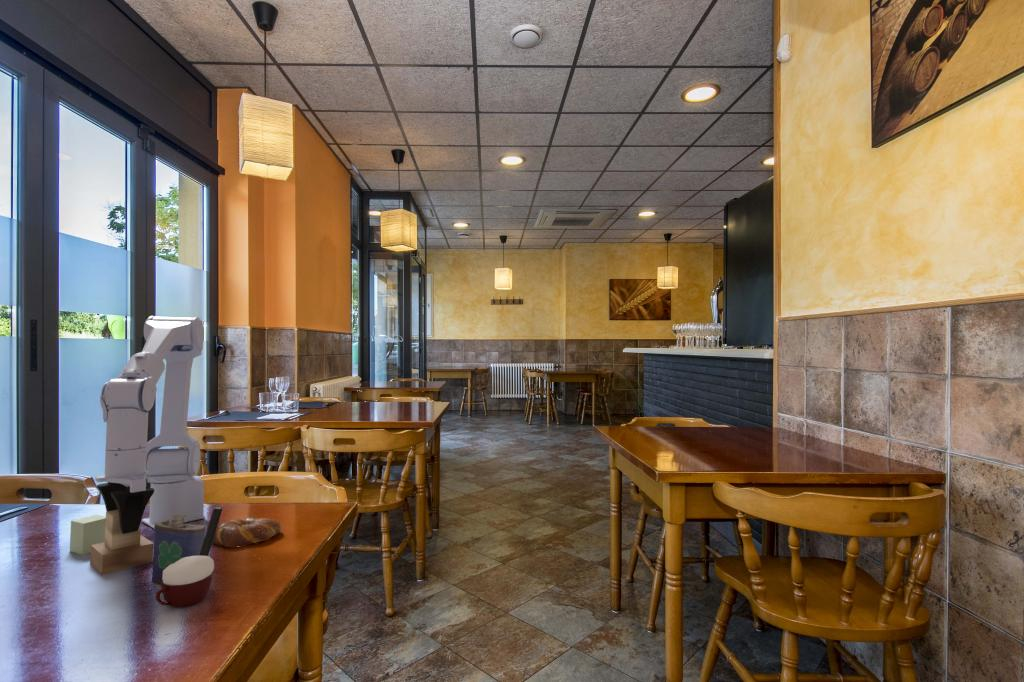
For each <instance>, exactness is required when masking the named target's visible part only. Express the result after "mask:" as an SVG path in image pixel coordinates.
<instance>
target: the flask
mask: <svg viewBox="0 0 1024 682" xmlns="http://www.w3.org/2000/svg"><path fill="white" fill-rule="evenodd" d="M171 517H172V518H175V520H171V519H168V520H165V521H162V522H157V523H156V524H155V529H154V539H153V562H152V570H151V572H152V574H151V583H152V584H155V585H158V586H161V581H162V576H163V570H164V569H165V568H167V567H168V566H169V565H171V564H173V563H175V562H177V561H178V560H180V559H182V558H184V557H189V556H199V555H200V551H201V548H202V545H203V542H204V539H205V535H206V525H204V524H189V523H185V522H184V521H185V520H184V519H183V518H184V517H186V514H185V513H183V515H181V514H175V516H174V514H173V515H171Z"/></svg>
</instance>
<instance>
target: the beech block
mask: <svg viewBox="0 0 1024 682" xmlns="http://www.w3.org/2000/svg"><path fill="white" fill-rule="evenodd" d="M105 517H106V525H105V545H106V546H107V547H108V548H110V549H111V550H114V549H118V548H122V547H127V546H131V545H135V544H140V536H141V535H142V534H141V533H142V522H141V523H140V526H139V529H138V531H135V532H131V533H126V534H123V533H122V531H121V528H120V520H119V513H118V510H113V511H108V512H107V511H106V512H105Z"/></svg>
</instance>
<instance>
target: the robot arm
mask: <svg viewBox="0 0 1024 682" xmlns="http://www.w3.org/2000/svg"><path fill="white" fill-rule="evenodd" d="M204 334H205V329H204V323H203V321H202V319H201V318H200V317H198V316H195V317H187V316H186V317H180V316H179V317H178V316H177V317H176V316H155V315H150V316H148V318H147V319H145V322H144V324H143V338H144V340H145V344H144V346H143V348H142V351H140V352H137V353H134V354H133V355H131V357H130V358H129V359H128V361H127V363H126V364H125V365H124V367H123V369H122V370H121V371H120V372H119V375H118V376H117V378H112V379H110V381H106V382H105V383H104V384H103V386H102V387H101V393H100V396H99V398H100V399H99V402H100V407H101V409H102V420H103V422H104V423H106V430H105V431H106V432H105V453H104V455H105V457H104V474H103V475H98V476H95V477H94V478H95V480H94V481H95V482H97V483H99V484H97V485H96V488H97V490H98V492H99V493H100V494H101V497H102V499H103V503H104V506H105V511H106V512H108V511H113V510H118V513H119V520H120V528H121V531H122V533H123V534H126V533H131V532H135V531H138V529H139V526H140V523H141V524H142V521H143V523H144V524H146V525H148V526H149V527H151V528H152V529H154V530H155V524H156V523H157V522H162V521H165V520H168V519H171V520H175V518H172V517H171V515H173V514H174V516H175V514H181V515H183V513H185V514H186V517H184V518H183V519H184V520H185V521H184V523H188V522H193V521H197V520H202V519H205V517H206V516H205V515H204V506H205V505H204V503H205V502H204V501H205V486H204V480H203V479H202V476H200V475H197V474H198V473H199V471H200V468H201V467H200V466H201V461H202V460H201V459H202V456H201V448H200V447H201V443H200V441H199V440H198V439H196V437H193V436H192V435H191V434H190V433H188V432H187V426H188V415H189V413H188V412H189V402H190V389H191V388H190V387H191V377H192V366H193V362H194V359H195V358H198V357H199V356H201V355H202V351H203V348H204V338H205V337H204V336H205V335H204ZM164 360H165V362H166V364H165V362H164ZM164 371H165V374H164V386H163V396H162V407H161V409H162V410H161V419H160V428H159V429H160V430H159V434H158V435H157V436H155V437H153V438H152V439H150V440H149V441H148V429H149V411H151V410H152V408H153V407H154V404H155V401H156V400H155V399H156V393H157V391H158V390H157V389H158V388H157V384H158V382H159V380H160V378H161V376H162V375H163V373H164ZM163 447H175V448H163ZM176 447H177V448H176ZM178 447H180V448H178ZM182 447H183V448H182ZM104 482H105V483H104ZM147 483H150V487H147ZM146 487H147V488H146ZM148 503H149V517H146V518H143V516H144V513H145V510H146V507H147V505H148Z"/></svg>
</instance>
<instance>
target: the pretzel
mask: <svg viewBox="0 0 1024 682" xmlns="http://www.w3.org/2000/svg"><path fill="white" fill-rule="evenodd" d="M281 530H282V527H281V524H280V522H279V521H278V520H277V519H274V518H267V517H260V518H257V517H253V516H252V517H245V518H243V519H242V518H235V519H232V520H231V519H230V520H226V521H224V522H223V523H222V522H221V523H220V524H218V525H217V529H216V532H215V535H214V539H213V542H212V544H213V543H214V545H216V544H217V545H216V546H221V545H224V546H223V547H225V548H228V547H237V546H243V547H245V546H244V545H247V546H249V545H248V544H250V545H252V543H256V542H258V541H260V542H261V541H265V540H268V539H270V538H271V537H272V536H273V535H276V534H278V533H279V532H281ZM279 534H280V533H279ZM279 534H278V535H279ZM276 536H277V535H276ZM273 537H274V536H273ZM273 537H272V538H273ZM272 538H271V539H272ZM271 539H270V540H271ZM268 541H269V540H268ZM265 542H266V541H265ZM256 544H257V543H256ZM237 548H238V547H237Z"/></svg>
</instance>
